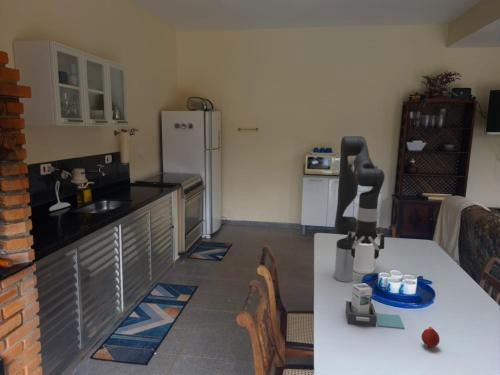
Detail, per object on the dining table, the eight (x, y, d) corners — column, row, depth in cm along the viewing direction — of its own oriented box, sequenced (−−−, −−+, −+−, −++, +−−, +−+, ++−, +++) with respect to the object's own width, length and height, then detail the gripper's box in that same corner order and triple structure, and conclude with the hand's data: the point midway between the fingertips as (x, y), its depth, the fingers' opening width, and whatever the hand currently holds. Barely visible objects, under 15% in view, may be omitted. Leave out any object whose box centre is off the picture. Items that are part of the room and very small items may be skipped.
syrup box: (357, 323, 150) (360, 289, 148) (350, 315, 156) (352, 283, 153) (370, 321, 152) (372, 288, 149) (362, 314, 157) (364, 282, 155)
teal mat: (374, 314, 157) (374, 312, 157) (399, 316, 156) (399, 315, 156) (378, 326, 148) (378, 325, 148) (404, 329, 146) (404, 328, 146)
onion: (433, 342, 137) (435, 322, 136) (441, 352, 132) (444, 331, 130) (417, 342, 137) (419, 322, 136) (425, 352, 132) (427, 331, 130)
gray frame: (345, 310, 160) (346, 301, 159) (371, 313, 158) (372, 303, 157) (348, 325, 148) (348, 315, 147) (376, 328, 146) (377, 318, 145)
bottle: (376, 267, 209) (380, 219, 204) (373, 276, 197) (377, 225, 192) (350, 262, 215) (354, 216, 210) (346, 271, 203) (349, 221, 198)
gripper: (384, 217, 149) (381, 255, 152) (347, 215, 151) (345, 253, 154) (387, 222, 142) (384, 262, 144) (349, 219, 144) (347, 259, 147)
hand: (364, 257), depth 149 cm, fingers open, 8 cm apart
